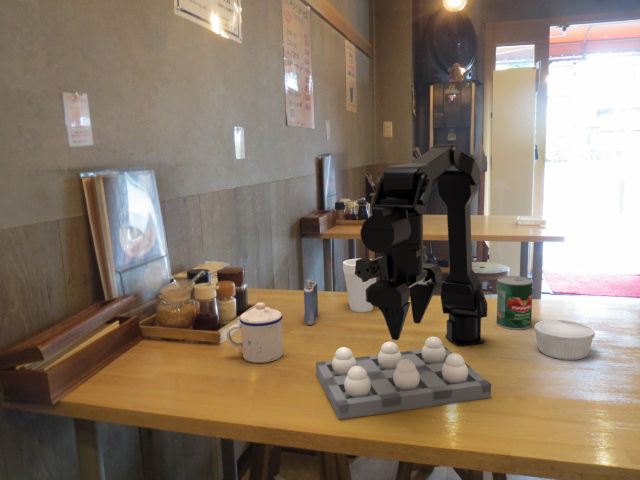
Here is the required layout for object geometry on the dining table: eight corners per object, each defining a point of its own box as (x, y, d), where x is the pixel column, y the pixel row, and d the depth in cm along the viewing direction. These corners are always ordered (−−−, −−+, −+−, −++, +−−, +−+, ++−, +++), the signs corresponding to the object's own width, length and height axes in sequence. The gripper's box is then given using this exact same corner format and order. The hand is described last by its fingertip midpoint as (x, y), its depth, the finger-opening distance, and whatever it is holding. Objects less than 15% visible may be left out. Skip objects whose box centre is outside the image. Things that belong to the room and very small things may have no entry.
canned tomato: (519, 332, 121) (521, 286, 119) (489, 324, 127) (490, 280, 125) (537, 324, 125) (539, 279, 124) (508, 316, 132) (509, 274, 130)
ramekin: (600, 350, 109) (601, 325, 108) (583, 367, 101) (584, 341, 100) (545, 338, 116) (546, 315, 116) (525, 353, 108) (526, 329, 108)
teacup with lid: (283, 346, 118) (280, 296, 116) (285, 362, 109) (282, 308, 107) (229, 350, 117) (226, 299, 115) (227, 366, 108) (223, 312, 106)
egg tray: (316, 374, 102) (315, 341, 101) (444, 358, 108) (445, 327, 106) (339, 419, 85) (337, 380, 84) (490, 397, 90) (491, 360, 89)
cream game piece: (414, 383, 94) (413, 353, 93) (424, 394, 90) (423, 363, 89) (390, 386, 94) (388, 356, 93) (398, 398, 89) (397, 367, 88)
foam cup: (355, 316, 137) (354, 267, 135) (338, 307, 145) (336, 261, 143) (385, 309, 141) (384, 262, 139) (367, 301, 149) (366, 257, 147)
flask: (314, 326, 130) (312, 284, 129) (302, 325, 131) (300, 284, 129) (319, 314, 139) (317, 275, 138) (308, 314, 140) (306, 275, 138)
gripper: (386, 230, 99) (387, 309, 102) (335, 248, 84) (338, 340, 87) (442, 234, 93) (442, 318, 96) (399, 253, 78) (400, 352, 81)
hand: (406, 331), depth 90 cm, fingers open, 9 cm apart
